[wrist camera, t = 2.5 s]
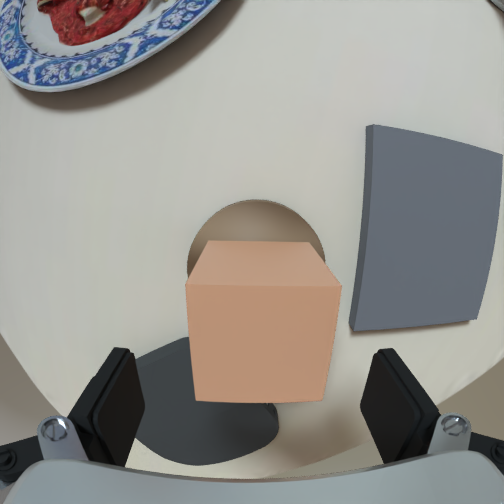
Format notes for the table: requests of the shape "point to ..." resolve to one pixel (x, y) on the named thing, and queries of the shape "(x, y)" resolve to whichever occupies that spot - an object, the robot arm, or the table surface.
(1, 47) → the ceramic plate
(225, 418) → the media streaming box
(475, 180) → the mat
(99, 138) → the table surface
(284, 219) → the round pedestal stand
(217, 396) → the peach cube block
